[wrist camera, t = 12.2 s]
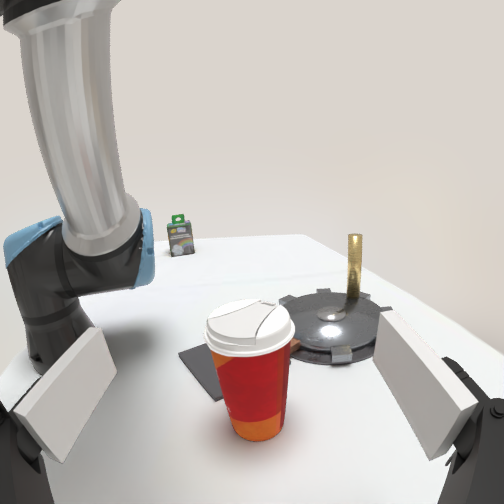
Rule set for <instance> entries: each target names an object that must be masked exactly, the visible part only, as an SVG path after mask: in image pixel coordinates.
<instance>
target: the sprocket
mask: <svg viewBox="0 0 504 504" xmlns="http://www.w3.org/2000/svg"><path fill="white" fill-rule="evenodd" d="M348 240H349V241H348V277H347V294H346V293H332V292H331V290H330V288H328V289H317V293H315V294H309V295H304V296H301V297H298V298H296V297H293V296H291V295H288V296H286V297H283V298H281V299H279V305H282V306H283V307H284V308H286V310H287V311H288V313H289V316H290V319H291V320H292V321H293V323H294V326H295V333H294V336H293V338H292V339H291V345H290V354H291V353H293V352H294V351H296V350H298V349H299V348H300V349H304V350H307V351H311V352H316V353H325V354H330V357H331V362H332V363H333V362H345V361H352V351H356V350H359V349H362V348H365V347H367V346H369V345H371V344H372V343H375V344H376V338H377V331H378V324H379V317H380V312H384V311H390V310H393V309H392V308H391V306H390V307H379V306H378V305H377V304H375V303H374V302H372V301H370V294H366V293H363V292H360V281H361V262H362V235H361V234H349V235H348Z"/></svg>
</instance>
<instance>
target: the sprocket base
mask: <svg viewBox="0 0 504 504" xmlns="http://www.w3.org/2000/svg"><path fill="white" fill-rule="evenodd" d="M374 350H375V343H372V344H371V345H369V346H367V347H365V348H362V349H359V350H356V351H352V361H345V362H333V363H332V362H331V357H330V354H325V353H316V352H311V351H307V350H304V349H300V348H299V349H298V350H296V351H294V352H293V353H291V354H290V357H293V358H295V359H298V360H301V361H304V362H308V363H314V364H322V365H341V364H349V363H354V362H358V361H361V360H365V359H367V358H369V357H372V356H373V355H374Z"/></svg>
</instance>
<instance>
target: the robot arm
mask: <svg viewBox="0 0 504 504" xmlns="http://www.w3.org/2000/svg"><path fill="white" fill-rule="evenodd" d="M120 1H121V0H0V16H2V15H3V23H4V24H3V26H4V30H6V31H8V32H10V33H12V34H14V35H16V36H18V38H19V39H20V46H21V58H22V66H23V74H24V81H25V87H26V93H27V98H28V103H29V108H30V112H31V117H32V121H33V125H34V129H35V133H36V136H37V140H38V144H39V147H40V151H41V154H42V157H43V160H44V163H45V166H46V169H47V172H48V175H49V178H50V181H51V184H52V186H53V189H54V191H55V194H56V196H57V199H58V201H59V204H60V207H61V209H62V211H63V214H64V216H65V219H64V221H63V220H62V219H61V217H60V216H55V217H52V218H49V219H46V220H44V221H41V222H39V223H36V224H33V225H31V226H29V227H26V228H24V229H22V230H20V231H17V232H15V233H13V234H11V235H10V236H8V237H7V238H6V240H5V242H4V246H3V247H4V255H5V262H6V268H7V270H8V274H9V278H10V282H11V285H12V288H13V292H14V295H15V298H16V301H17V304H18V307H19V310H20V313H21V316H22V318H23V321H24V324H25V328H26V338H27V345H28V352H29V357H30V360H31V362H32V364H33V366H34V368H35V370H36V371H37V372H38V373H40V374H42V375H43V376H42V377H40V378H39V379H37V380H36V381H35V382H34V383H33V385H32V386H31V388H29V389H28V390H27V391H26V393H25V394H24V395H23V396H22V397H21V398H20V399H19V401H18V402H17V403H16V404H15V405H14V406H13V408H12V409H11V410H10V411H9V412H7V410H6V409H5V407H4V406H3V404H2V402H1V401H0V504H54V501H53V497H52V494H51V490H50V486H49V482H48V478H47V474H46V469H45V464H44V459H43V457H42V455H41V454H40V452H41V450H43V451H44V452H45V453H46V454H47V455H48V457H49V458H51V459H53V460H55V461H57V462H59V463H62V464H63V463H64V461H65V459H66V457H67V456H68V454H69V452H70V450H71V448H72V447H73V445H74V443H75V441H76V440H77V438H78V436H79V434H80V433H81V431H82V429H83V427H84V426H85V424H86V422H87V421H88V419H89V417H90V416H91V414H92V412H93V411H94V409H95V407H96V406H97V404H98V402H99V401H100V399H101V398H102V396H103V394H104V393H105V391H106V390H107V388H108V386H109V385H110V383H111V382H112V380H113V378H114V377H115V375H116V374H117V370H116V367H115V365H114V362H113V360H112V357H111V354H110V352H109V349H108V346H107V343H106V340H105V338H104V335H103V332H102V329H101V328H96V327H95V326H94V325H93V323H92V322H91V320H90V319H89V318H88V316H87V315H86V313H85V312H84V310H83V309H82V307H81V305H80V302H79V299H78V297H80V296H86V295H92V294H99V293H105V292H111V291H118V290H125V289H135V288H136V287H139V286H144V285H148V284H150V283H151V282H152V281H153V279H154V275H155V257H154V250H153V249H154V239H153V226H152V218H151V213H150V211H149V210H148V209H143V208H139V206H138V204H137V201H136V200H135V199H134V198H133V197H132V196H131V195H129V194H127V193H125V190H124V185H123V179H122V173H121V167H120V161H119V155H118V149H117V141H116V133H115V125H114V115H113V105H112V92H111V75H110V15H111V11H112V9H113V8H114V7H115V6H116V5H117V4H118V3H119V2H120ZM373 362H374V364H375V365H376V367H377V369H378V370H379V372H380V374H381V375H382V377H383V379H384V380H385V382H386V384H387V385H388V387H389V389H390V390H391V392H392V394H393V396H394V397H395V399H396V401H397V403H398V404H399V406H400V408H401V410H402V411H403V413H404V415H405V417H406V418H407V420H408V422H409V424H410V426H411V427H412V429H413V431H414V433H415V435H416V437H417V439H418V440H419V442H420V444H421V446H422V448H423V450H424V452H425V454H426V456H427V457H428V459H429V461H431V460H433V459H435V458H437V457H439V456H442V455H444V454H446V453H447V451H448V450H449V449H450V447H451V446H452V444H454V446H455V448H456V450H455V452H454V453H453V454H452V456H451V457H450V458H449V459H448V461H447V462H446V464H445V466H448V464H449V463H450V462H451V465H450V468H449V471H448V475H447V478H446V481H445V484H444V487H443V490H442V492H441V495H440V498H439V500H438V503H437V504H504V399H501V398H493V399H490V398H489V397H488V396H487V395H486V394H485V393H484V391H483V390H482V389H481V388H480V387H479V386H478V385H477V384H476V383H475V381H474V380H473V379H472V378H471V377H469V375H468V374H467V373H466V372H465V371H464V369H463V368H462V367H461V366H460V365H459V364H458V363H457V362H455V361H454V360H452V359H450V358H448V357H444V358H440V357H439V356H438V355H437V354H436V353H435V351H434V350H433V349H432V348H431V347H430V346H429V345H428V344H427V343H426V342H425V341H424V340H423V339H422V338H421V337H420V336H419V335H418V333H417V332H416V331H415V330H414V329H413V328H412V327H411V326H410V325H409V324H408V323H407V322H406V321H405V320H404V319H403V318H402V317H401V316H400V315H399V314H398V313H397V312H396V311H395V310H390V311H384V312H380V317H379V324H378V331H377V338H376V344H375V350H374V355H373Z"/></svg>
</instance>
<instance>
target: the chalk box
mask: <svg viewBox="0 0 504 504" xmlns="http://www.w3.org/2000/svg"><path fill="white" fill-rule="evenodd" d="M177 217H180V218H181V220H180V221H176V220H175V219H176V218H177ZM167 232H168V238H169V245H170V251H171V256H172V257H173V256H179V255H187V254H194V253H195V251H194V244H193V236H192V229H191V223H190V221H189V220H188V221H185V220H184V215H183V214H179V215H173V216H172V223H169V224H168V225H167Z"/></svg>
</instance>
